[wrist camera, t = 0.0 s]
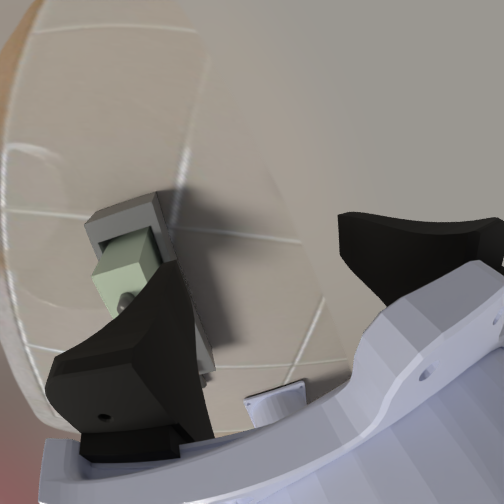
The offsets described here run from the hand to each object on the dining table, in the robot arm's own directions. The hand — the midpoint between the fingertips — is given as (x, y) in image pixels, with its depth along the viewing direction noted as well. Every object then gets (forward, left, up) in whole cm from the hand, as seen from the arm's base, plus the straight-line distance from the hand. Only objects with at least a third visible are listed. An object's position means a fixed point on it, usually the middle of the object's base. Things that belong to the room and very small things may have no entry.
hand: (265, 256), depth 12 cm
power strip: (-9, +7, -10) cm, 15 cm away
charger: (-2, +7, -9) cm, 12 cm away
